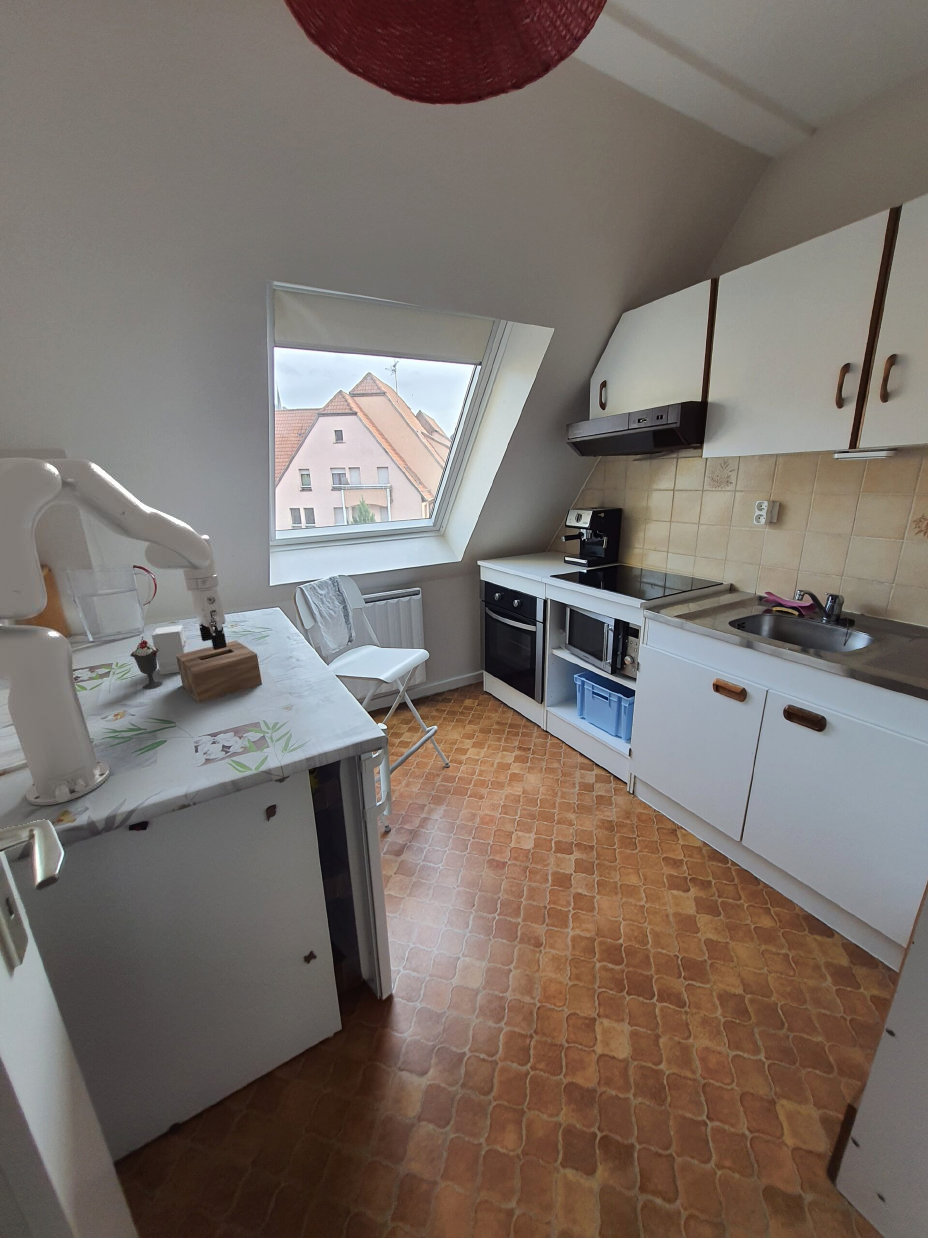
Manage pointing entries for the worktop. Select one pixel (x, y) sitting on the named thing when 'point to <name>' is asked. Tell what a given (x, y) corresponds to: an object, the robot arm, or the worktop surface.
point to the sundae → (147, 662)
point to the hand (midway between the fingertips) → (214, 644)
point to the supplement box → (169, 647)
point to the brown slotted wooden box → (218, 671)
